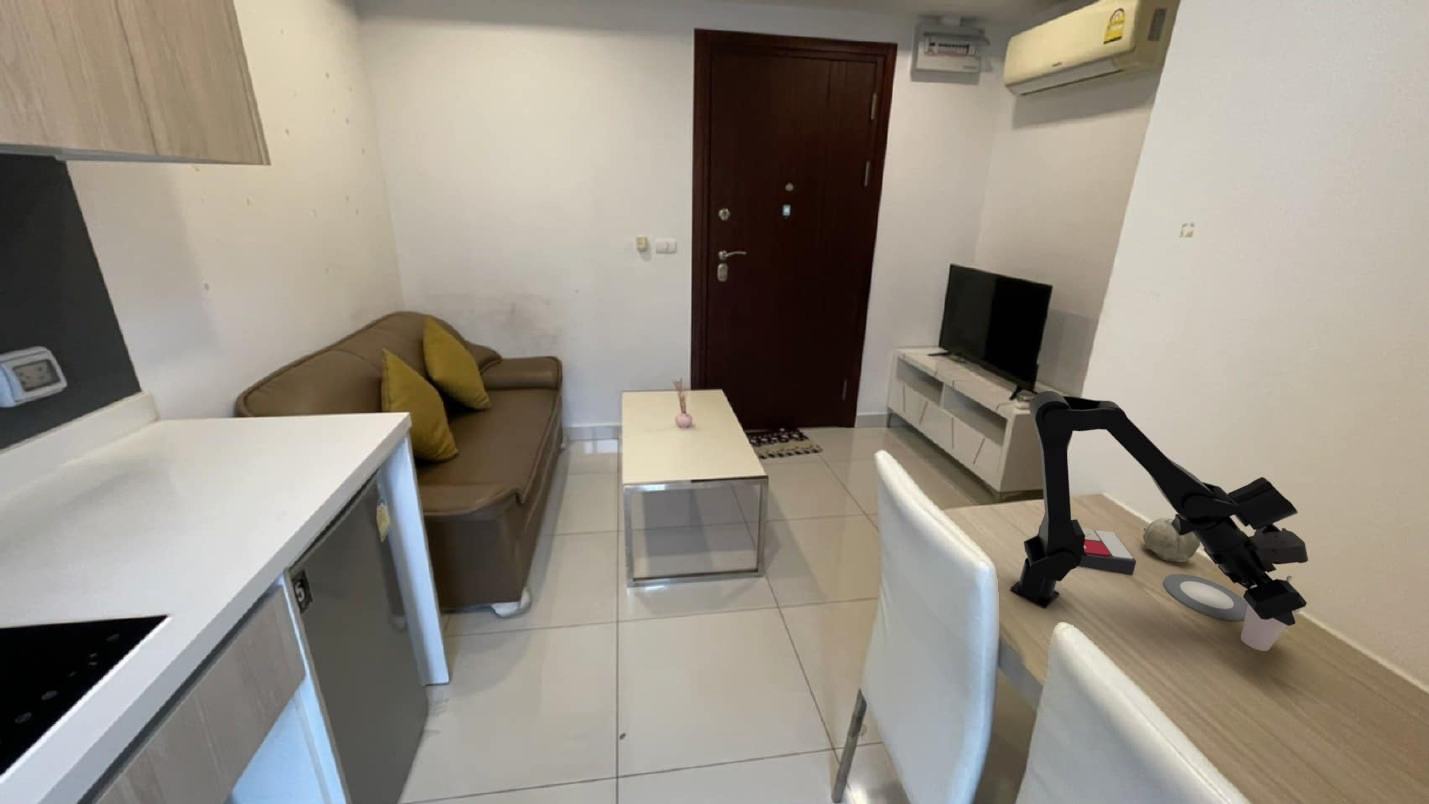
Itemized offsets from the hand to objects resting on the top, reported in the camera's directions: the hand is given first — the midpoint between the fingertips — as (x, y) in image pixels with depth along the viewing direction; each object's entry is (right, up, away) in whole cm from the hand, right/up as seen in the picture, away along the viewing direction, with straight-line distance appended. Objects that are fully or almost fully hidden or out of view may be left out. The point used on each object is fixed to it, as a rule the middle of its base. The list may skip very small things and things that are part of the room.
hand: (1280, 611), depth 95 cm
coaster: (0, -3, +14) cm, 14 cm away
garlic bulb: (+2, +2, +27) cm, 28 cm away
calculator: (-16, +2, +27) cm, 31 cm away
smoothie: (-2, -7, +3) cm, 7 cm away
